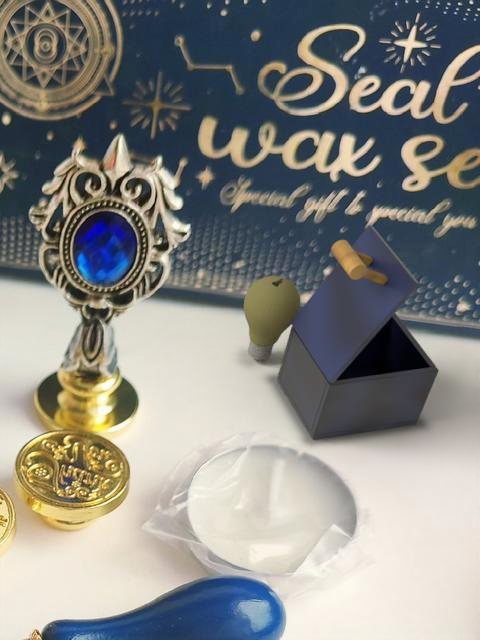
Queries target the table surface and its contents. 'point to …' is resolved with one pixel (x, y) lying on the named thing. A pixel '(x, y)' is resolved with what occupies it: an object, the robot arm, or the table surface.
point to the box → (360, 384)
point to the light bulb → (269, 313)
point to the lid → (353, 302)
